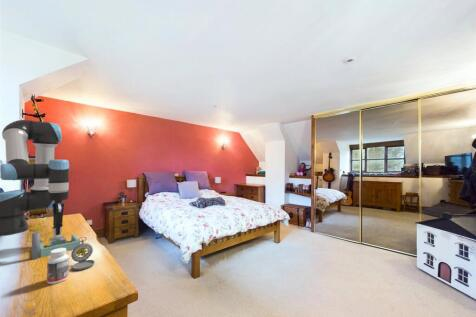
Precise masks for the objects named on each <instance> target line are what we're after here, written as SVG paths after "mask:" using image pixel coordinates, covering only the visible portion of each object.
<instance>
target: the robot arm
mask: <svg viewBox="0 0 476 317" xmlns="http://www.w3.org/2000/svg"><path fill="white" fill-rule="evenodd" d="M62 134H63V133H62V129H61V126H60V125H59V124H58V123H54V122H48V121H47V122H46V121H40V120H39V121H37V120H29V119H18V120H16V121H15V120H14V121H12V122H10V123H8V124H7V125H5V126H4V128H3V129H2V132H1V136H2V139H3V140H4V141H5V142H4V144H5V163H2V164H1V165H0V180H2V181H24V180H25V181H27V180H33V181H34V182H33V186H32V187H30V191H26V189H24V188H23V189H15V190H8V191H3V192H0V237H1V236H2V235H3V236H9V235H15V234H19V233H23V232H25V231H28V230H29V223H28V220H27V219H26V216H25V213H26V212H32V211H39V210H47V209H52V217H53V218H52V219H53V222H52V225H53V227H52V229H53V238H55V237H60V236H62V227H63V226H64V225H63V218H64V208H65V203H64V202H63V201H65V200H68V199H69V188H70V186H69V185H70V183H69V180H70V179H69V178H70V177H69V176H70V162H69V160H68V159H55V148H56V147H58V146H59V143H61V142H62V141H63V140H62V139H63V135H62ZM27 141H32V144H33V146H35V155H34V156H35V157H34V160H35V161H34V162H35V163H30V160H29V153H28V145H27Z"/></svg>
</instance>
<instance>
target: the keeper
mask: <svg viewBox="0 0 476 317" xmlns="http://www.w3.org/2000/svg"><path fill="white" fill-rule="evenodd" d="M78 239H79V238H78V237H77V235H76V234H75V233H71V240H70V241H71V242H66V243H65V244H60V245H56V246H51V247H50V246H47V247H44V244H43V241H42V240H41V232H39V231H38V230H35V231H33V233H32V234H31V260H37V259H39V258H43V257H48V256H50V252H51V251H52V250H54V249H58V248H66V252H68V251H73V249H74V248H75V247H76V246H78V245H79V244H81V242H80V241H81V240H80V239H79V241H78Z"/></svg>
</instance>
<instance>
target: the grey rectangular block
mask: <svg viewBox="0 0 476 317" xmlns="http://www.w3.org/2000/svg"><path fill="white" fill-rule="evenodd" d="M65 243H67V238H66V237H65V235H61V236H60V237H55V238H54V237H51V238H49V247H51V246H56V245H60V244H65Z"/></svg>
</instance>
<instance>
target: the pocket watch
mask: <svg viewBox="0 0 476 317" xmlns="http://www.w3.org/2000/svg"><path fill="white" fill-rule="evenodd" d="M82 238H85V239H82ZM80 239H81V240H80ZM79 240H80V244H79V245H78V246H76V247H75V248H74V249H73V250H71V254H70V255H71V256H70V257H71V259H72V260H73V261H74V262H76V263H74V264H73V265H72V267H71V268H72V269H73V270H75V271H81V270H86V269H89V268H91V267H92V266H93V265H94V264H95V260H94V259H89V258H90V257H91V256H92V254H93V252H94V248H93V246H92V245H91V244H90V243H88V242H85V241H87V237H86V236H82V237H80V238H78V241H79Z"/></svg>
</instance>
